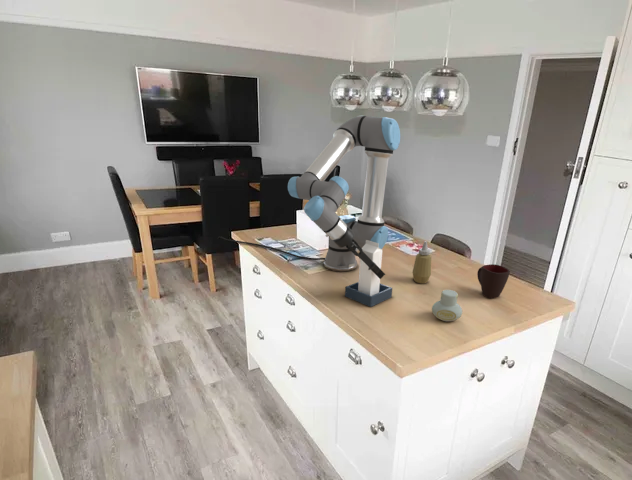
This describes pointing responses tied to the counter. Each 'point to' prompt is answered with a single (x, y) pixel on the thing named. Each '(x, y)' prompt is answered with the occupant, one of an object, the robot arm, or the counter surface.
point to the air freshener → (447, 306)
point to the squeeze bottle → (422, 265)
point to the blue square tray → (368, 300)
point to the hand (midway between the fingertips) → (378, 272)
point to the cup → (492, 279)
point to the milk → (367, 277)
